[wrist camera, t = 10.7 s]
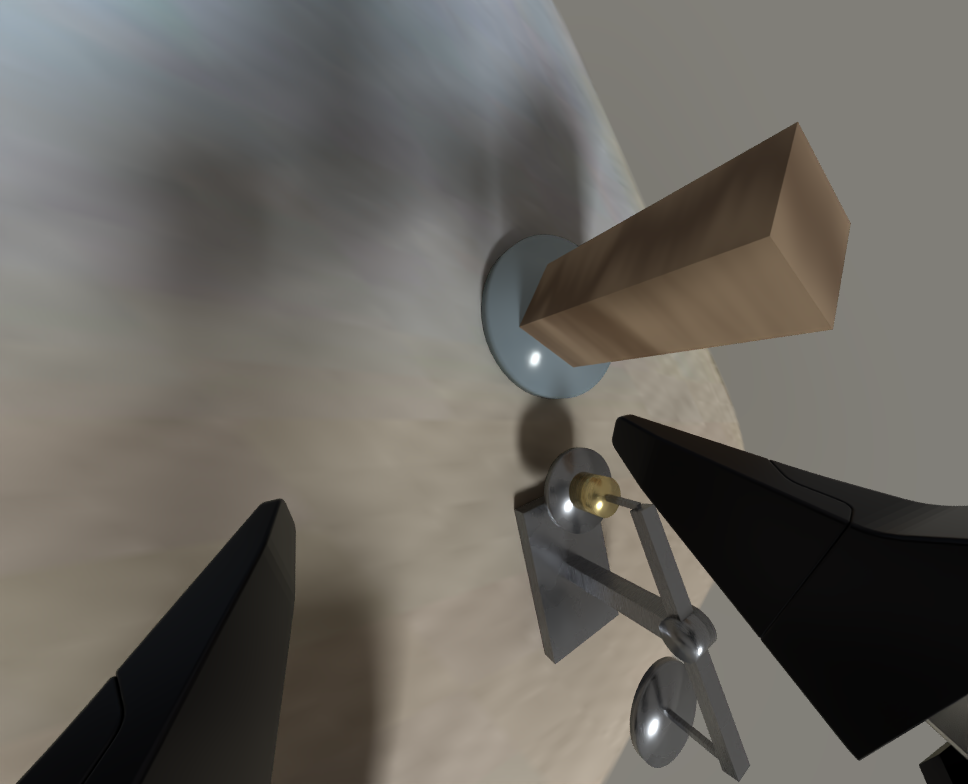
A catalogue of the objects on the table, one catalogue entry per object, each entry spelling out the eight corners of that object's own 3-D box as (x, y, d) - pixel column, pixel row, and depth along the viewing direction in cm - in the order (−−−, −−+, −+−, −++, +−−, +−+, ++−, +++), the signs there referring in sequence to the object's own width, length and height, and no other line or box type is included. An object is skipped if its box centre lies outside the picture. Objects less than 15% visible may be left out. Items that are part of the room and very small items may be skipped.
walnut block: (573, 367, 24) (833, 329, 12) (519, 326, 22) (769, 235, 10) (596, 307, 25) (850, 223, 14) (547, 264, 23) (797, 121, 11)
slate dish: (617, 381, 27) (628, 380, 26) (501, 416, 22) (510, 416, 21) (591, 240, 26) (601, 234, 25) (464, 241, 21) (472, 234, 20)
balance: (615, 649, 26) (782, 775, 17) (555, 701, 23) (718, 884, 14) (573, 432, 25) (728, 446, 16) (503, 458, 22) (645, 492, 13)
